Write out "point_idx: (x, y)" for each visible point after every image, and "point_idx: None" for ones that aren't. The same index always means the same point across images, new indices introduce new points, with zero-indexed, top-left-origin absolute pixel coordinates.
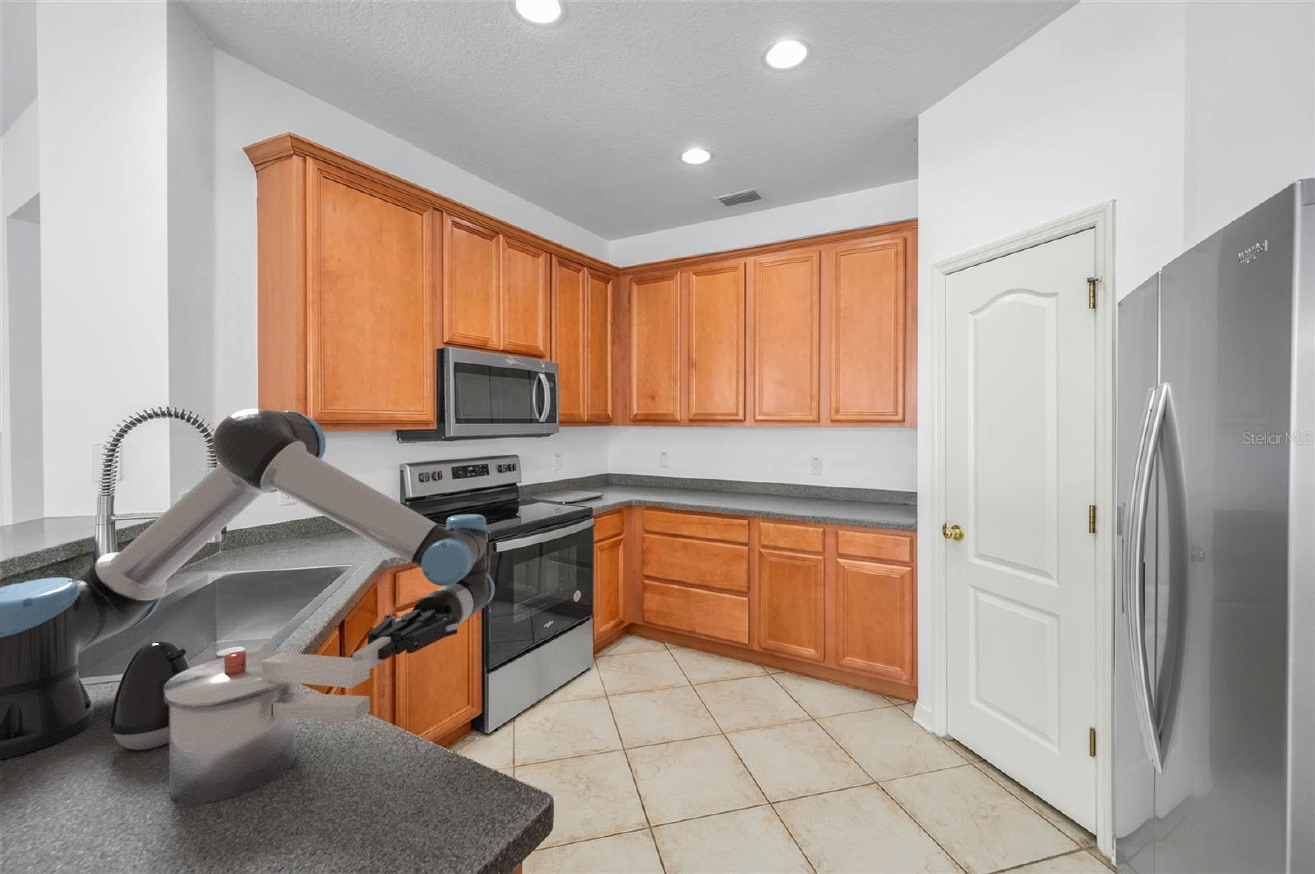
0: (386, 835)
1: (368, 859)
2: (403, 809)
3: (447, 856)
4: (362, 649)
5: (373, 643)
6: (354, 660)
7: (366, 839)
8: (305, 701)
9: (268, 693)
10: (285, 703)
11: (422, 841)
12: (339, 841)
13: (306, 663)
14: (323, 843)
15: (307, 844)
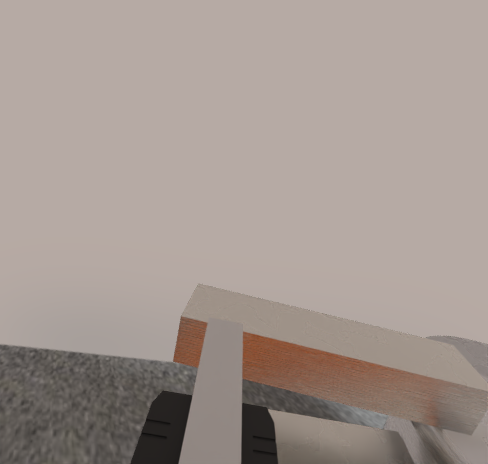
0: (84, 389)
1: (100, 359)
2: (60, 439)
3: (6, 353)
4: (233, 346)
5: (226, 398)
6: (221, 316)
7: (109, 385)
8: (331, 431)
9: None
10: (366, 426)
11: (34, 376)
12: (142, 386)
13: (331, 319)
14: (160, 384)
15: (178, 385)
